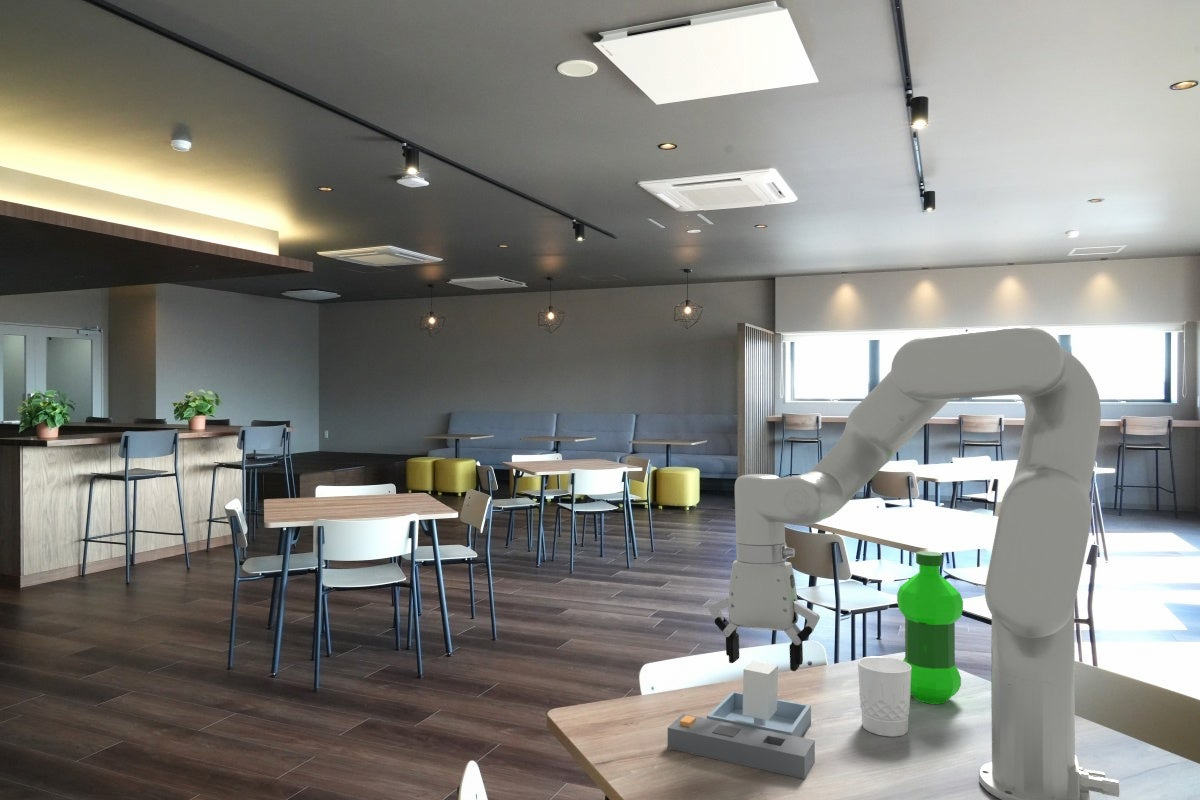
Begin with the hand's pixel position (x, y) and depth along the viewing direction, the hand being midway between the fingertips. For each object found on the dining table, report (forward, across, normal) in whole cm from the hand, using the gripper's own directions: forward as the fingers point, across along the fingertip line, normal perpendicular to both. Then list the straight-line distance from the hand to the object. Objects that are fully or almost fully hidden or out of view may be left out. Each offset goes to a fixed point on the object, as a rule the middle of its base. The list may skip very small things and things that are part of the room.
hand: (764, 664), depth 120 cm
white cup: (+11, -16, -10) cm, 22 cm away
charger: (+10, +1, 0) cm, 10 cm away
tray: (+10, +1, 0) cm, 10 cm away
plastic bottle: (+11, -21, -27) cm, 36 cm away
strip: (+10, +1, +10) cm, 14 cm away
